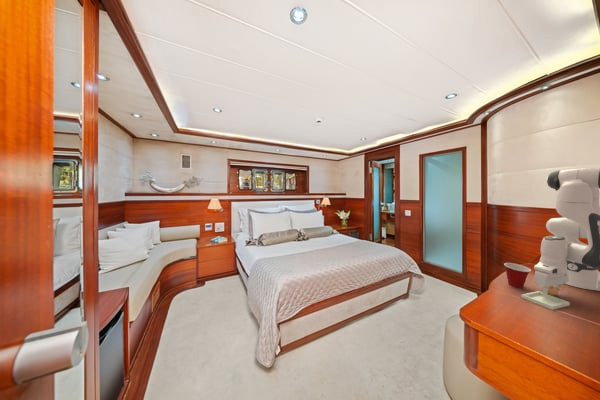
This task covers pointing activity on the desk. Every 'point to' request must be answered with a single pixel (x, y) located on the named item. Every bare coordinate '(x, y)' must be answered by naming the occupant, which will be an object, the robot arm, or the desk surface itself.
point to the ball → (553, 291)
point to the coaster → (557, 296)
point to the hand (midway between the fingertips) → (551, 292)
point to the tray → (545, 300)
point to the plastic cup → (516, 274)
